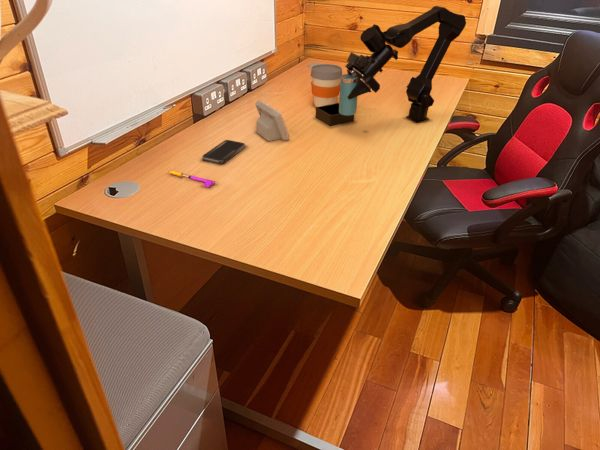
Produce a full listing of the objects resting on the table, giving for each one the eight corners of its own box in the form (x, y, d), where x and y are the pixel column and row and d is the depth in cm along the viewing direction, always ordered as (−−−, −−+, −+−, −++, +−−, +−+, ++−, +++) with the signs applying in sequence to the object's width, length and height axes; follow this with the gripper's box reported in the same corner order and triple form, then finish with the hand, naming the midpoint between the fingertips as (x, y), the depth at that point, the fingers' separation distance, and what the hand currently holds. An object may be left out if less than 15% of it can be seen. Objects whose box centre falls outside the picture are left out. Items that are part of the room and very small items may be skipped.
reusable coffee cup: (305, 108, 189) (306, 70, 180) (316, 98, 198) (317, 62, 190) (334, 112, 185) (336, 74, 177) (344, 102, 195) (346, 66, 186)
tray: (338, 113, 184) (339, 102, 182) (353, 122, 177) (354, 110, 174) (315, 118, 179) (315, 107, 177) (330, 127, 172) (330, 115, 170)
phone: (200, 156, 148) (226, 139, 159) (201, 159, 148) (226, 142, 160) (222, 161, 145) (246, 143, 156) (222, 164, 146) (246, 146, 157)
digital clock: (290, 141, 161) (290, 112, 155) (265, 145, 158) (264, 115, 152) (276, 125, 174) (276, 96, 168) (253, 127, 171) (251, 99, 165)
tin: (349, 108, 169) (351, 73, 162) (359, 113, 164) (362, 77, 157) (335, 111, 166) (336, 75, 159) (345, 116, 162) (347, 80, 155)
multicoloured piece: (216, 183, 136) (171, 172, 141) (215, 180, 135) (170, 169, 140) (211, 189, 134) (166, 177, 140) (210, 186, 133) (165, 174, 139)
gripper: (352, 37, 161) (321, 72, 164) (374, 50, 146) (339, 88, 150) (371, 59, 167) (340, 92, 171) (394, 74, 152) (360, 110, 156)
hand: (344, 95), depth 162 cm, fingers closed on tin, 6 cm apart
